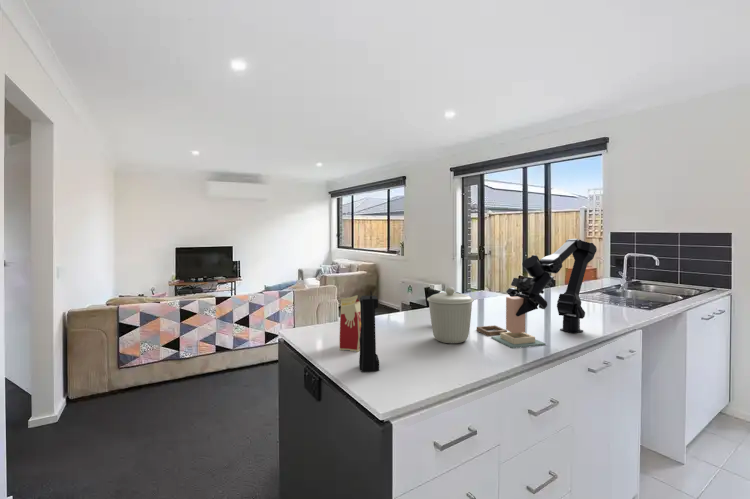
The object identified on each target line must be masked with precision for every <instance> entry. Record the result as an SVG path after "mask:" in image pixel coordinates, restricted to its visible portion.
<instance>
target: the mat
mask: <svg viewBox="0 0 750 499" xmlns="http://www.w3.org/2000/svg"><path fill="white" fill-rule="evenodd" d="M490 338H491V340H495V341H496V342H498V343H501V344H503V345H504V346H506V347H509V348H510V349H521V348H529V346H531V347H539V346H540V345H541V346H546V343H545V342H543V341H540V340H538V339H536V336H534V335H532V334H530V333H526V332H522V333H512V332H510V331H507V332H503V333H500V335H491V337H490ZM520 347H521V348H520Z"/></svg>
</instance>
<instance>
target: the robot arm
mask: <svg viewBox="0 0 750 499" xmlns="http://www.w3.org/2000/svg"><path fill="white" fill-rule="evenodd" d="M597 252H598V251H597V246H596V245H595V243H594V242H588V241H584V240H582V239H579V238H569V239H566V241H565V242H564V243H563V245H561V246H560V247H559V248H558V249H557V250H555V251H554V252H553V253H551V254H549V255H546V256H544V257H542V258H541V259H539V256H538V255H536V254H532V255H531V256H530V257H527V258H525V260H523V262H522V264H521V265H522V267H523V269H525V271H526V272H527V274H528V275H529V276H530V277H531V279H529V278H526V277H524V278H523V279H522V278H518V277H513V279H512V282H511V284H510V286H512V287H515V288H512V287H508V289H507V290H506V293H507V295H508V296H509V297H514V296H518V297H522V298H524V302H523V304H522V306H521V307H520V308H519V310H518V311H517V313H516V316H520V315H523V314H525V315H526V314H527V313H529V312H532V311H535V310H538V309H541V310H546V308H547V307H548V301H547V300H546V299H545V298H544V297H543V296H542V295H543V294H544V293H545V288H546V287H547V285H548V284H552V285H554V284H555V279H554V277H555V276H552V275H551V274H558V273H559V272H560V271H561V270H562V268H563V262H565V261H566V260H567V259H568V258H569V257H570V256H571V255H572V257H573V260H574V261H573V266H572V268H571V272H570V276H569V280H568V284H567V286H566V290H565V292H563V293H560V294H558V299H557V304H556V309H557V312H558V316H563V317H562V328H559V330H560V331H563V332H566V333H570V334H577V333H582V332H584V329H581V321H580V320H581V319H584V318H585V316H586V311H585V310H584V309H583V307H582V300H581V298H580V293H581V292H580V291H581V288H582V285H583V281H584V278H585V274H586V271H587V266H588V264H589V263H590V262H591V261H592V260H593V259H594V258H595V255H596V253H597ZM541 294H542V295H541Z"/></svg>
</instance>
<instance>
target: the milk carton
mask: <svg viewBox="0 0 750 499" xmlns="http://www.w3.org/2000/svg"><path fill="white" fill-rule="evenodd" d="M358 297H359V296H358V295H357V294H356V295H353V296H351V297H347V298H346V297H345V298H344V297H343V298H339V300H340V315H339V316H340V317H339V318H340V320H339V351H344V350H350V351H349V352H353V351H356V352H355V353H360V342H359V338H360V333H361V331H360V330H361V313H360V299H358Z"/></svg>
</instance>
